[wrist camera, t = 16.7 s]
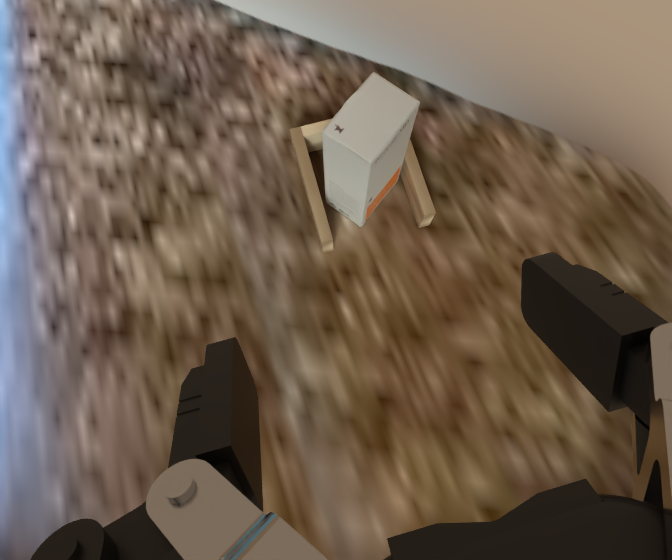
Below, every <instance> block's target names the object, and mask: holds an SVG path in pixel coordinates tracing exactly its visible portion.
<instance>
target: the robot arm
mask: <svg viewBox="0 0 672 560" xmlns="http://www.w3.org/2000/svg"><path fill="white" fill-rule="evenodd" d="M521 309H522V313H523V316H524V319H525V321H526V323H527V324H528V326H529V327H530V328H531V329H532V330H533V331H534V333H535V334H536V335H537V336H538V337H539V338H540V339H541V340H542V341H543V342H544V343H545V344H546V345H547V346H548V348H549V349H550V350H551V351H552V352H553V353H554V354H555V355H556V356H557V357H558V358H559V359H560V360H561V361H562V363H563V364H564V365H565V366H566V367H567V368H568V369H569V370H570V371H571V372H572V373H573V374H574V375H575V377H576V378H577V379H578V380H579V381H580V382H581V383H582V384H583V385H584V386H585V387H586V388H587V389H588V390H589V392H590V393H591V394H592V395H593V396H594V397H595V398H596V399H597V400H598V401H599V402H600V403H601V404H602V406H603V407H604V408H605V409H606V410H607V411H608V412H610V411H614V410H617V409H620V408H624V407H627V406H628V407H629V408H630V409H631V410H632V411H633V412H634V413H633V418H632V451H633V499H632V498H628V497H622V496H617V495H605V494H597V493H596V492H595V490H594V489H593V488H592V486H591V485H590V484H589V482H588V481H587V480H586V479H583V480H580V481H577V482H573V483H570V484H567V485H563V486H560V487H557V488H553V489H550V490H547V491H544V492H540V493H537V494H536V495H534V496H533V497H531V498H530V499H528V500H527V501H525V502H524V503H522V504H521V505H519V506H518V507H516V508H515V509H513V510H512V511H510V512H509V513H507V514H506V515H504V516H503V517H501V518H500V519H498V520H496V521H492V522H472V523H439V524H434V525H430V526H427V527H424V528H420V529H417V530H414V531H411V532H407V533H404V534H401V535H397V536H394V537H391V538H387V540H388V544H389V548H390V552H391V555H390V556H388V557H387V558H385V559H384V560H672V323H668V322H667V321H666V320H664V319H663V318H661V317H660V316H659V315H657V314H656V313H654V312H653V311H652V310H650V309H649V308H647V307H646V306H645V305H643V304H642V303H640V302H639V301H638V300H636V299H635V298H633V297H632V296H631V295H629V294H628V293H624V290H622V289H621V288H619V287H618V286H617V285H615V284H612V282H611V281H610V280H608V279H607V278H605V277H604V276H603V275H601V274H600V273H598V272H597V271H594V270H591V269H589V268H586V267H583V266H580V265H577V264H576V265H571V264H570V263H569V262H567V261H566V260H565V259H563V258H562V257H561V256H559V255H558V254H556V253H554V252H551V253H547V254H543V255H540V256H536V257H532V258H529V259H525V260H524V262H523V264H522V286H521ZM179 402H180V404H178V410H177V416H178V417H176V423H175V429H174V435H173V442H172V448H171V454H170V460H169V467H168V469H167V470H166V471H164V472H163V473H162V474H161V475H160V476H159V477H158V478H157V479H156V481H155V482H154V483H153V485H152V486H151V488H150V490H149V493H148V496H147V500H146V502H144V503H143V504H142V505H141V506H139V507H138V508H136V509H134V510H133V511H131V512H129V513H128V514H126V515H124V516H123V517H121V518H119V519H117V520H116V521H114V522H112V523H111V524H109V525H107V526H105V527H104V528H103V527H102V526H101V525H100V524H99V523H98V522H97V521H95V520H92V519H80V520H76V521H73V522H71V523H68V524H66V525H65V526H63V527H61V528H60V529H58V530H57V531H55V532H54V533H53V534H52V535H50V536H49V537H48V538H47V539H46V540H45V541H44V542H43V543H42V544H41V546H40V547H39V548H38V549H37V550H36V552H35V553H34V555H33V556H32V558H31V560H328V559H327V558H326V557H324V556H323V555H322V554H321V553H320V552H319V551H318V550H316V549H315V548H314V547H313V546H312V545H311V544H310V543H309V542H307V541H306V540H305V539H304V538H303V537H302V536H301V535H300V534H298V533H297V532H296V531H295V530H294V529H293V528H292V527H291V526H289V525H288V524H287V523H286V522H285V521H284V520H283V519H281V518H280V517H279V516H278V515H276V514H274V513H272V512H270V513H269V514H268V515H266V514H264V513H263V496H262V474H261V453H260V431H259V409H258V396H257V391H256V387H255V383H254V380H253V377H252V375H251V372H250V370H249V367H248V365H247V362H246V360H245V357H244V355H243V352H242V350H241V347H240V345H239V343H238V341H237V339H236V338H235V337H234V338H231V339H227V340H223V341H219V342H216V343H212V344H208V345H207V347H206V355H205V365H204V366H200V367H196V368H193V369H191V371H190V372H189V374H188V375H187V377H186V379H185V380H184V382H183V383H182V385H181V392H180V398H179Z"/></svg>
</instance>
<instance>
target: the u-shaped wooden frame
mask: <svg viewBox="0 0 672 560" xmlns="http://www.w3.org/2000/svg"><path fill="white" fill-rule="evenodd" d="M331 120H332V119H329V120H325V121H321V122H317V123H313V124H309V125H305V126H301V127H297V128H293V129H290V133H291V138H292V143H293V148H294V151H295V155H296V159H297V162H298V166H299V169H300V173H301V177H302V180H303V184H304V187H305V191H306V195H307V198H308V202H309V205H310V209H311V213H312V216H313V220H314V223H315V227H316V231H317V234H318V238H319V241H320V245H321V248H322V252H323V253H325V252H329V251H333V250H334V249H333V238H332V234H331V231H330V227H329V224H328V220H327V217H326V213H325V210H324V206H323V203H322V199H321V196H320V192H319V189H318V185H317V182H316V178H315V175H314V171H313V168H312V164H311V161H310V157H309V154H308V153H310V152H314V151H318V150H322V149H323V143H322V131H323V129H324V128H325V127H326V126H327V125H328V123H329V122H330V121H331ZM400 174H401V177H402V180H403V183H404V186H405V189H406V192H407V195H408V198H409V201H410V204H411V207H412V210H413V213H414V216H415V219H416V222H417V225H418V228H420V227H424V226H428V225H429V224H430V222H431V221H432V219H433V217H434V215H435V213H436V212H435V209H434V206H433V203H432V200H431V197H430V195H429V192H428V189H427V186H426V183H425V180H424V177H423V174H422V172H421V169H420V166H419V163H418V160H417V157H416V154H415V152H414V149H413V146H412V143H411V140H410V139H409V143H408V147H407V150H406V154H405V157H404V160H403V164H402V167H401V171H400Z"/></svg>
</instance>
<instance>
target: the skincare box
mask: <svg viewBox="0 0 672 560" xmlns="http://www.w3.org/2000/svg"><path fill="white" fill-rule="evenodd" d="M419 104H420V102H419V101H418V100H417V99H415V98H413V97H412V96H410V95H409V94H407V93H406V92H404V91H402V90H401V89H399V88H398V87H396V86H395V85H393V84H392V83H390V82H389V81H387V80H386V79H384V78H383V77H381V76H380V75H378V74H377V73H376V72H373V73H371V74H370V76H369V77H368V78H367V79H366V80H365V81H364V83H363V84H362V85H361V86H360V87H359V88H358V90H357V91H356V92H355V93H354V94H353V95H351V97H350V98H349V99H348V100H347V101H346V102H345V103H344V105H343V106H342V108H341V109H340V110H339V111H338V113H337V114H336V115H335V116H334V117H333V119H332V120H331V121H330V122H329V123H328V125H327V126H326V127H325V128H324V129H323V131H322V143H323V161H324V178H325V197H326V203H327V204H329V205H330V206H332V207H333V208H335V209H336V210H337V211H339V212H340V213H342V214H343V215H345V216H346V217H347V218H349V219H350V220H352V221H353V222H354V223H356V224H357V225H359V226H360V227H362V226H363V224H364V223H365V222H366V220H367V219H368V217H369V216H370V215H371V214H372V212H373V211H374V210H375V208H376V207H377V206H378V204H379V203H380V202H381V201H382V199H383V198H384V197H385V196H386V194H387V193H388V192H389V191H390V190H391V188H392V187H393V186H394V185H395V184H396V182H397V181H398V178H399V174H400V171H401V167H402V164H403V160H404V157H405V154H406V150H407V147H408V143H409V139H410V136H411V132H412V129H413V125H414V122H415V118H416V115H417V111H418V108H419Z"/></svg>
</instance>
